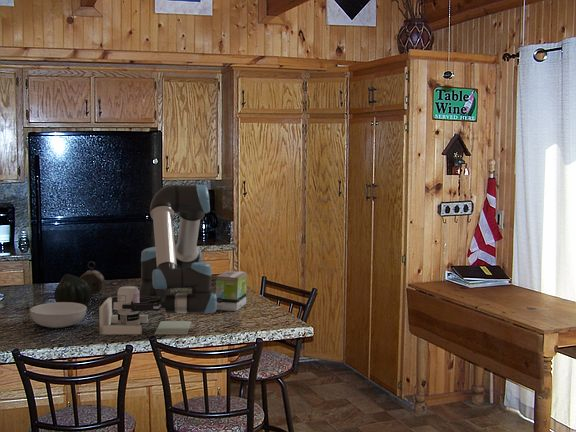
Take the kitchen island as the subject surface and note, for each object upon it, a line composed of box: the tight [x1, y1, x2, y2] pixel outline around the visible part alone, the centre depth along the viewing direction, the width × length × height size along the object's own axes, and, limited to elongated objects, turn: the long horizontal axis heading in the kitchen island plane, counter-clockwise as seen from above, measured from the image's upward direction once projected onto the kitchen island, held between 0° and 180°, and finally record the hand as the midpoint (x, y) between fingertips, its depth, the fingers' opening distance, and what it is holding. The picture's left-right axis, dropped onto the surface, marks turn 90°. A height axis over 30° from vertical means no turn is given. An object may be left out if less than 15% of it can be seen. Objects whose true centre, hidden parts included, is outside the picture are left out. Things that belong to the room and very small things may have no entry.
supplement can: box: [116, 285, 141, 326], centre depth 270 cm, size 8×8×15 cm
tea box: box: [215, 270, 248, 312], centre depth 307 cm, size 15×10×15 cm, turn 168°
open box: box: [98, 297, 149, 335], centre depth 270 cm, size 15×17×10 cm
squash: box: [53, 273, 92, 306], centre depth 304 cm, size 14×15×15 cm
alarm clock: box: [79, 261, 106, 297], centre depth 324 cm, size 11×5×16 cm, turn 84°
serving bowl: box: [29, 301, 88, 329], centre depth 274 cm, size 21×21×7 cm
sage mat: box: [154, 320, 192, 335], centre depth 272 cm, size 12×18×1 cm, turn 3°
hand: (116, 303), depth 270 cm, fingers closed on supplement can, 8 cm apart
